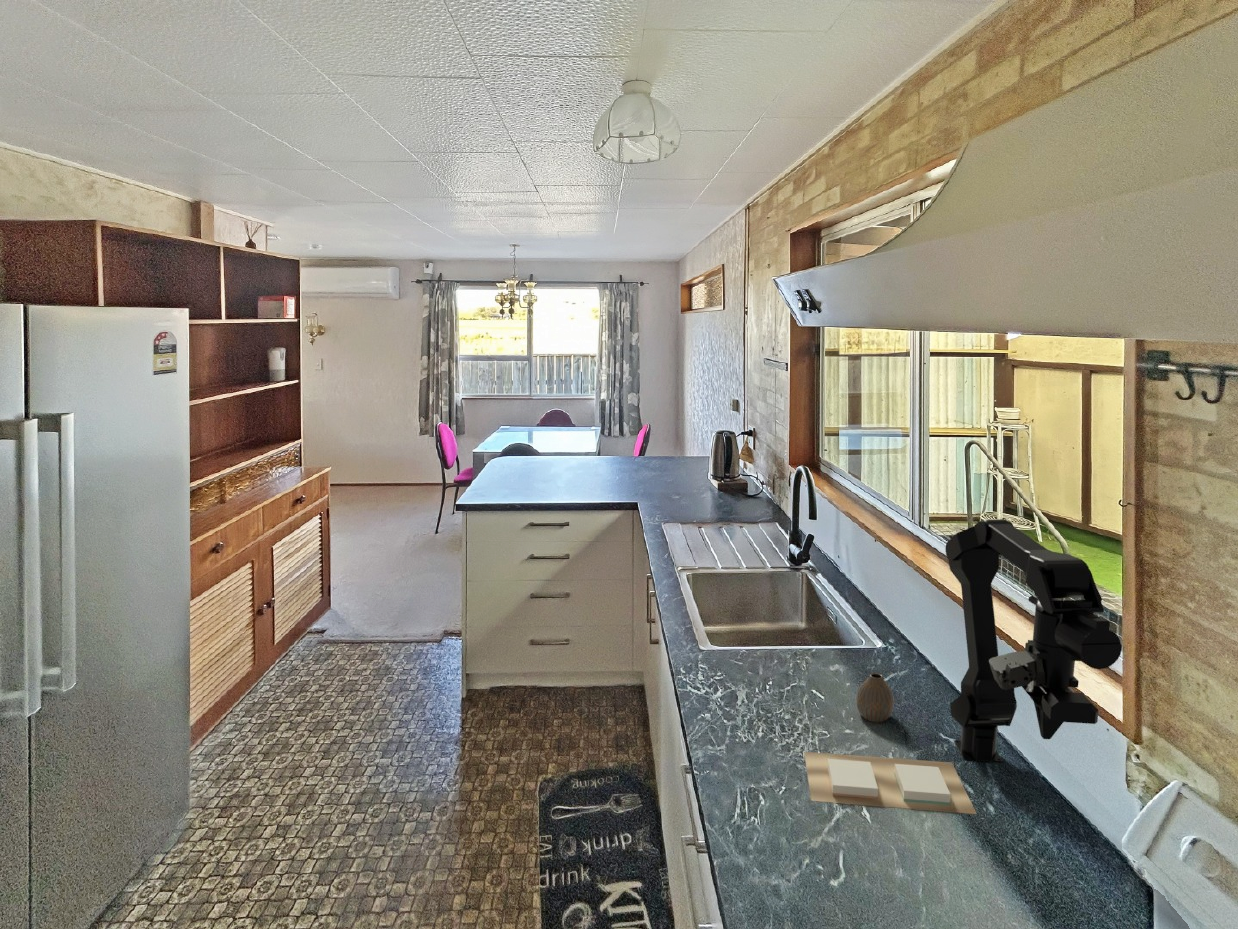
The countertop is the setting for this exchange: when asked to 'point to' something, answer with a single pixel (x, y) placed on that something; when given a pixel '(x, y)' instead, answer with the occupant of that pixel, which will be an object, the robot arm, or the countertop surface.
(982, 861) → the countertop surface
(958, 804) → the cork mat
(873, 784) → the terracotta tile
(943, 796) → the teal tile
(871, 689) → the vase
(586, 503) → the countertop surface
